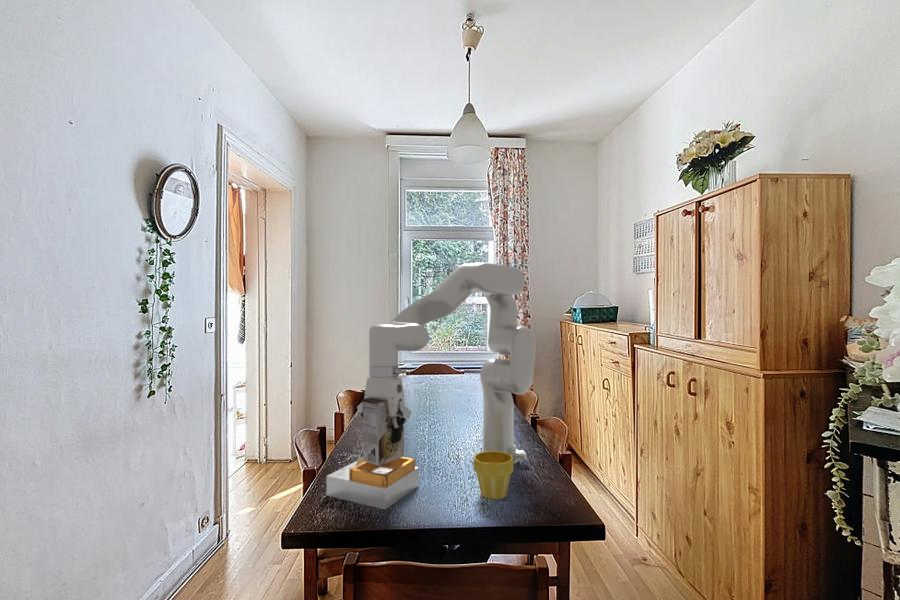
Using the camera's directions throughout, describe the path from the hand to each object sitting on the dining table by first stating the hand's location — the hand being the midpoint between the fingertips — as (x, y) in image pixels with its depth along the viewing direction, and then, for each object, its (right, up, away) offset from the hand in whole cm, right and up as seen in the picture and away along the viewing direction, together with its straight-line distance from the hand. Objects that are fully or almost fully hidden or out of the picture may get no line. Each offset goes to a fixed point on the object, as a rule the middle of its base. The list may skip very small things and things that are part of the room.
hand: (383, 439), depth 124 cm
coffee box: (0, -5, 0) cm, 5 cm away
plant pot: (+29, -14, -1) cm, 32 cm away
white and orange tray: (-3, -14, +1) cm, 14 cm away
